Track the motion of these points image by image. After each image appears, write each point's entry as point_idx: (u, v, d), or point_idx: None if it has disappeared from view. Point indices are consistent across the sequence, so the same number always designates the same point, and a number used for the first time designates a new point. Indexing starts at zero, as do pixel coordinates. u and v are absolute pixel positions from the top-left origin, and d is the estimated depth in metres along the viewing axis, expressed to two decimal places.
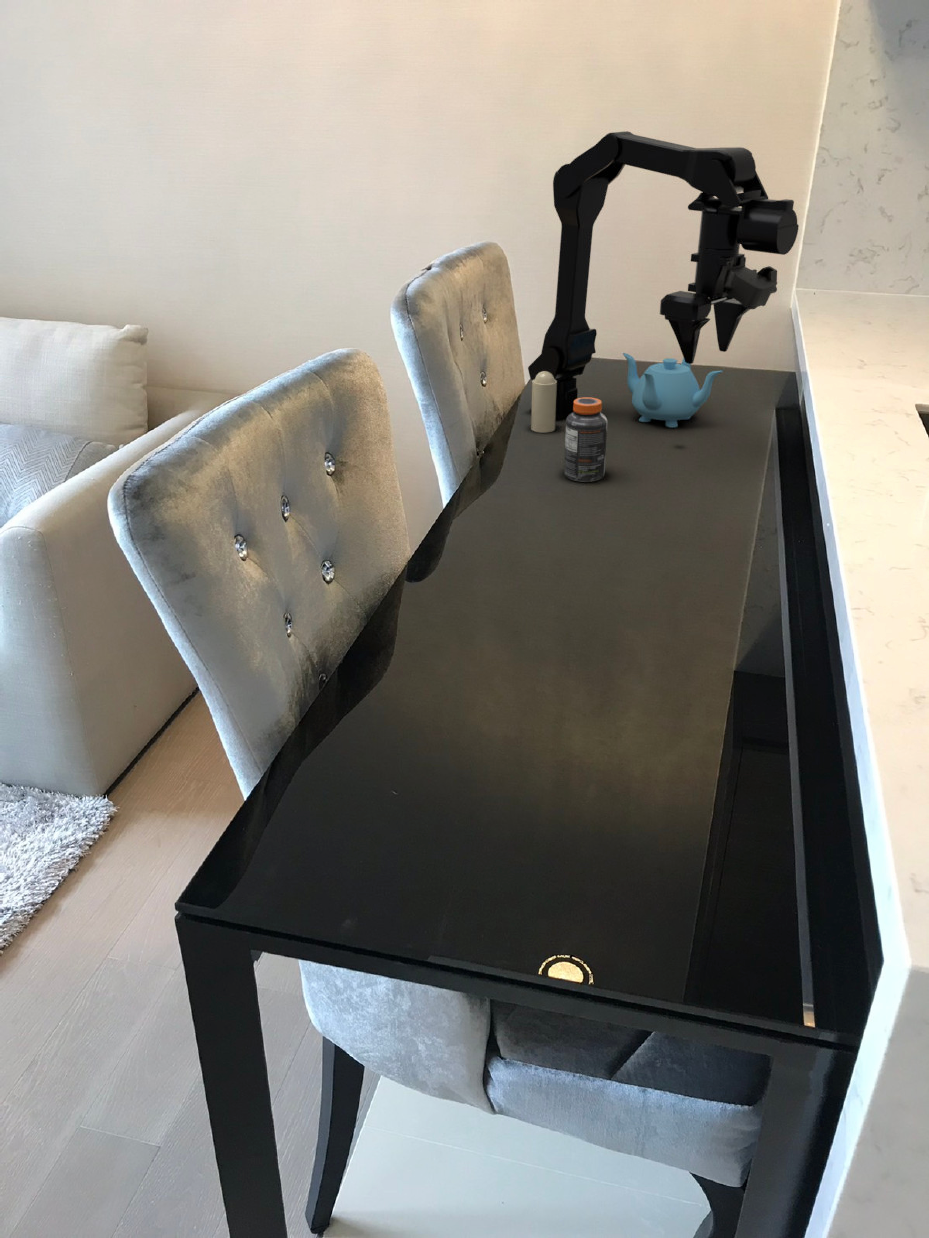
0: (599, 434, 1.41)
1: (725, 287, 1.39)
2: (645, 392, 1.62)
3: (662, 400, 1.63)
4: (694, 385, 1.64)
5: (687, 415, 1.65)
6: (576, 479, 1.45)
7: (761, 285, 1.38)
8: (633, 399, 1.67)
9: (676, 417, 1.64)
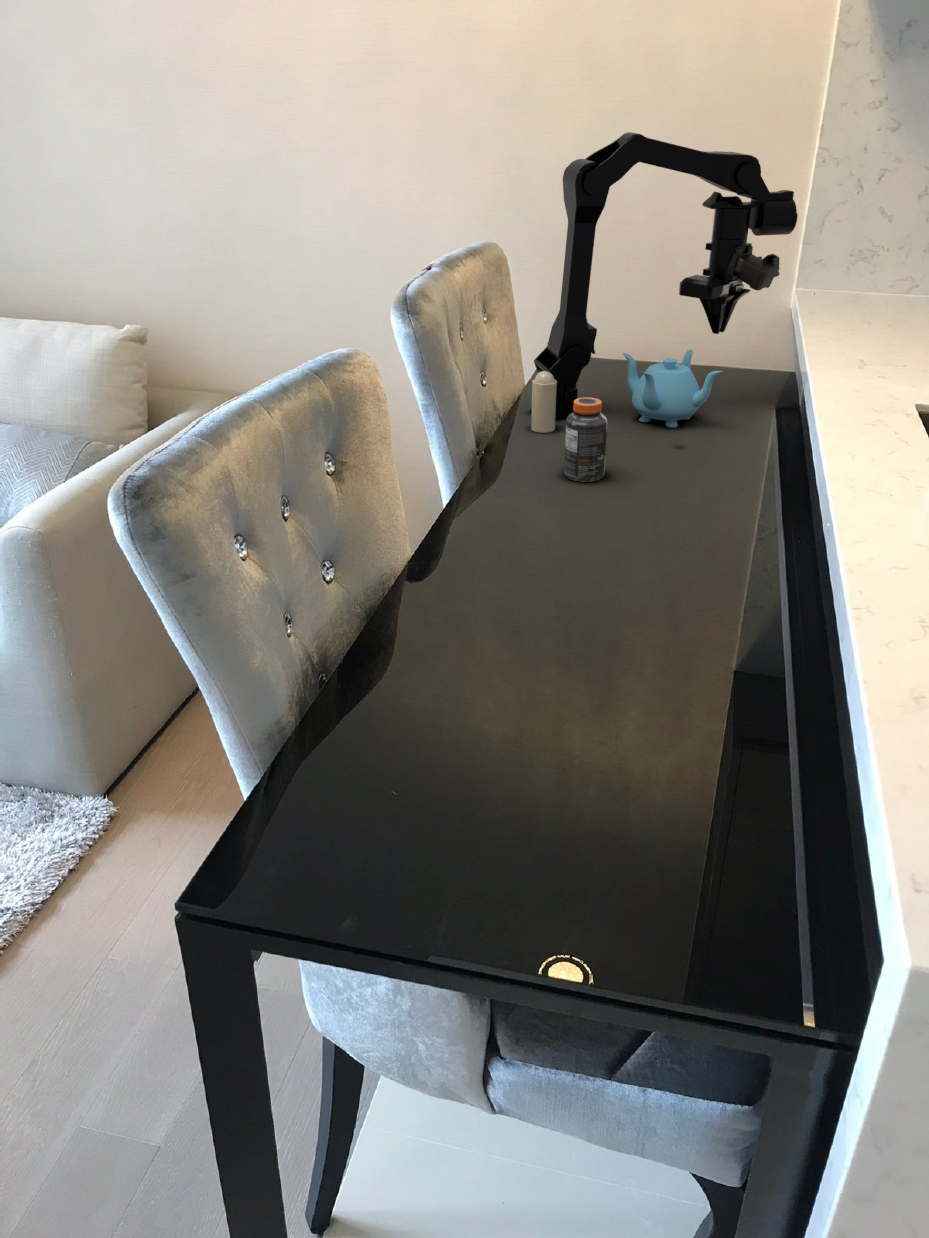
0: (599, 434, 1.41)
1: (735, 271, 1.63)
2: (645, 392, 1.62)
3: (662, 400, 1.63)
4: (694, 385, 1.64)
5: (687, 415, 1.65)
6: (576, 479, 1.45)
7: (766, 270, 1.61)
8: (633, 399, 1.67)
9: (676, 417, 1.64)
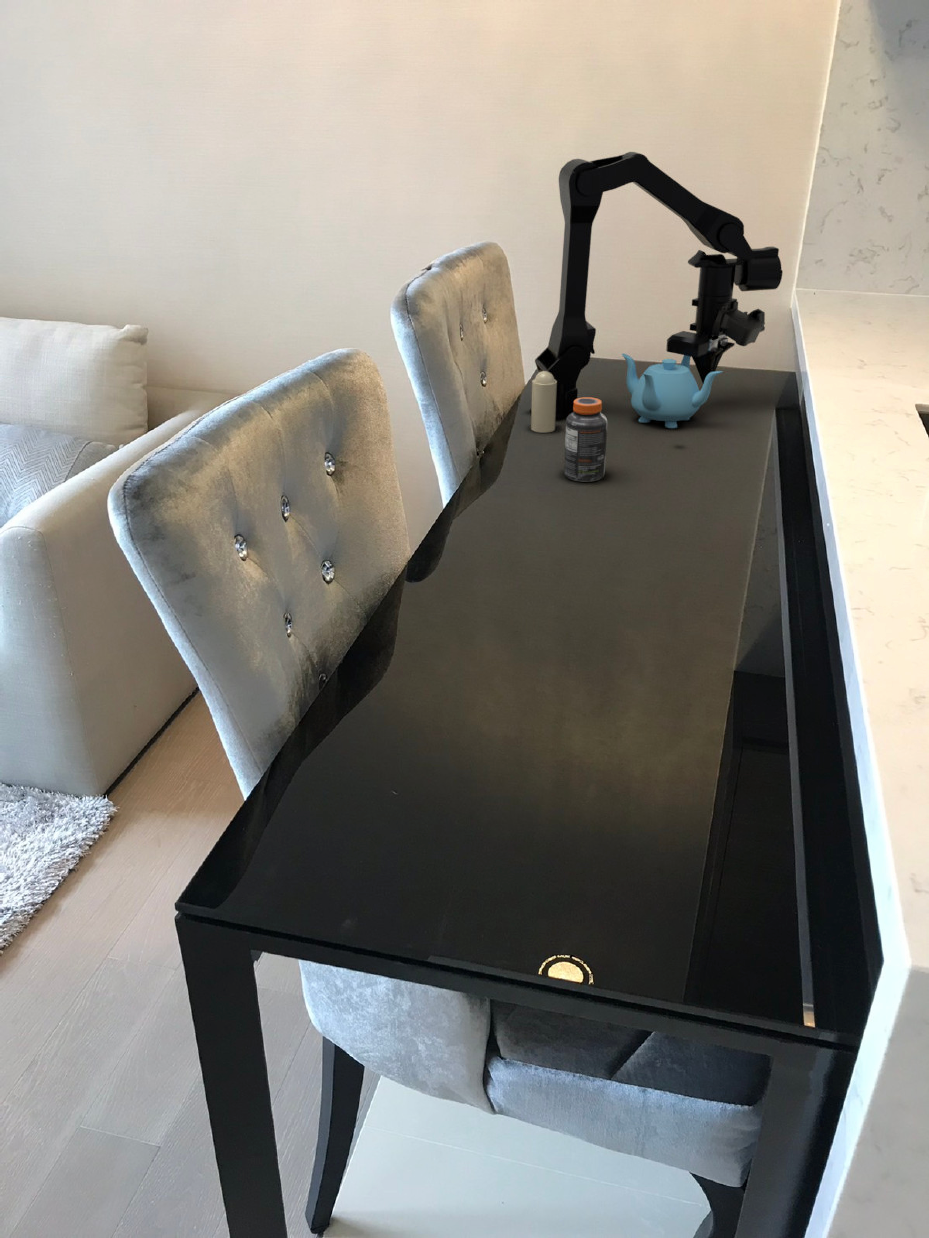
0: (599, 434, 1.41)
1: (721, 328, 1.66)
2: (644, 393, 1.61)
3: (661, 401, 1.62)
4: (693, 386, 1.63)
5: (686, 416, 1.64)
6: (576, 479, 1.45)
7: (751, 326, 1.64)
8: (632, 400, 1.67)
9: (675, 418, 1.64)
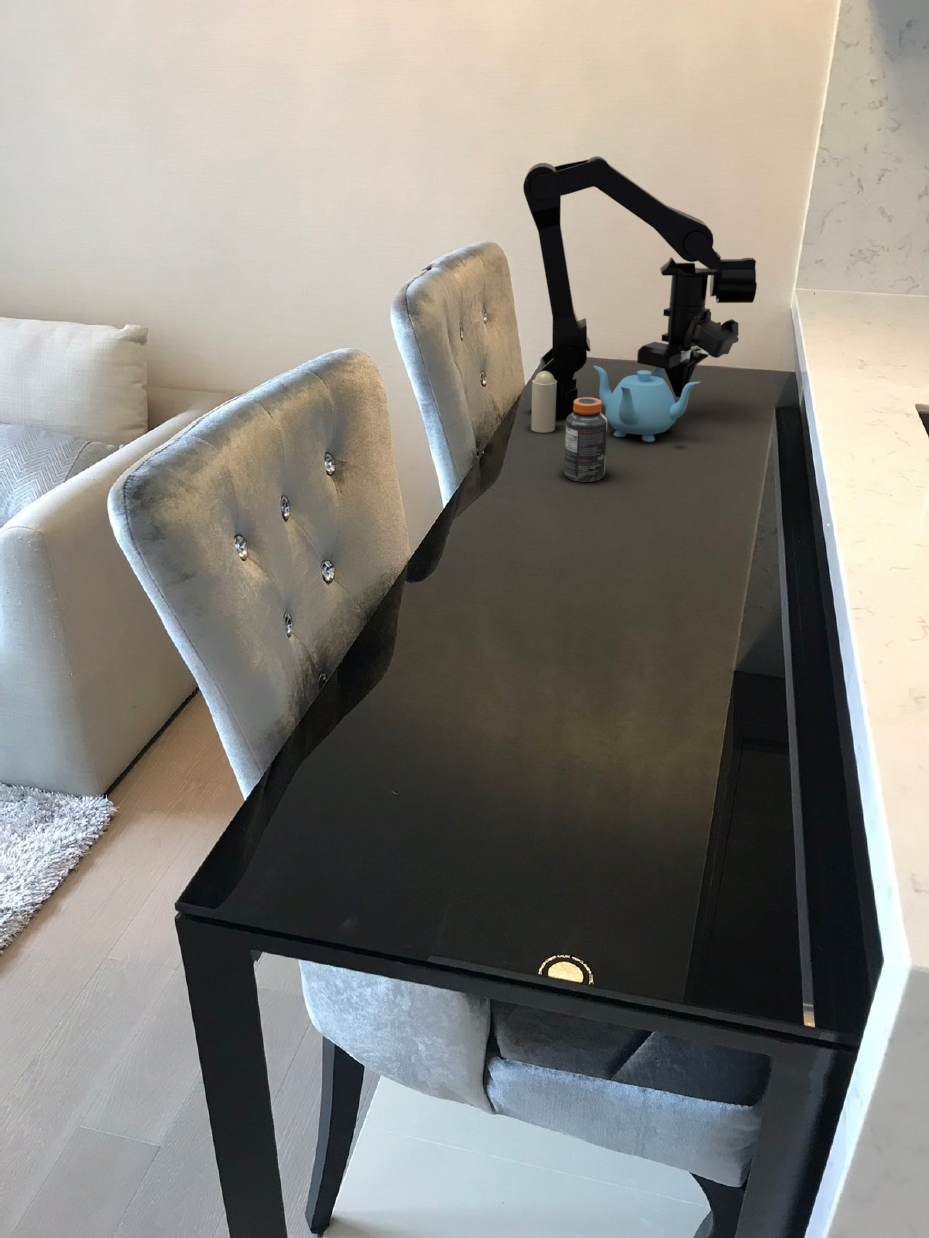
0: (599, 434, 1.41)
1: (693, 338, 1.61)
2: (622, 406, 1.55)
3: (639, 414, 1.56)
4: (670, 398, 1.58)
5: (664, 428, 1.59)
6: (576, 479, 1.45)
7: (724, 337, 1.59)
8: (607, 414, 1.61)
9: (654, 431, 1.58)
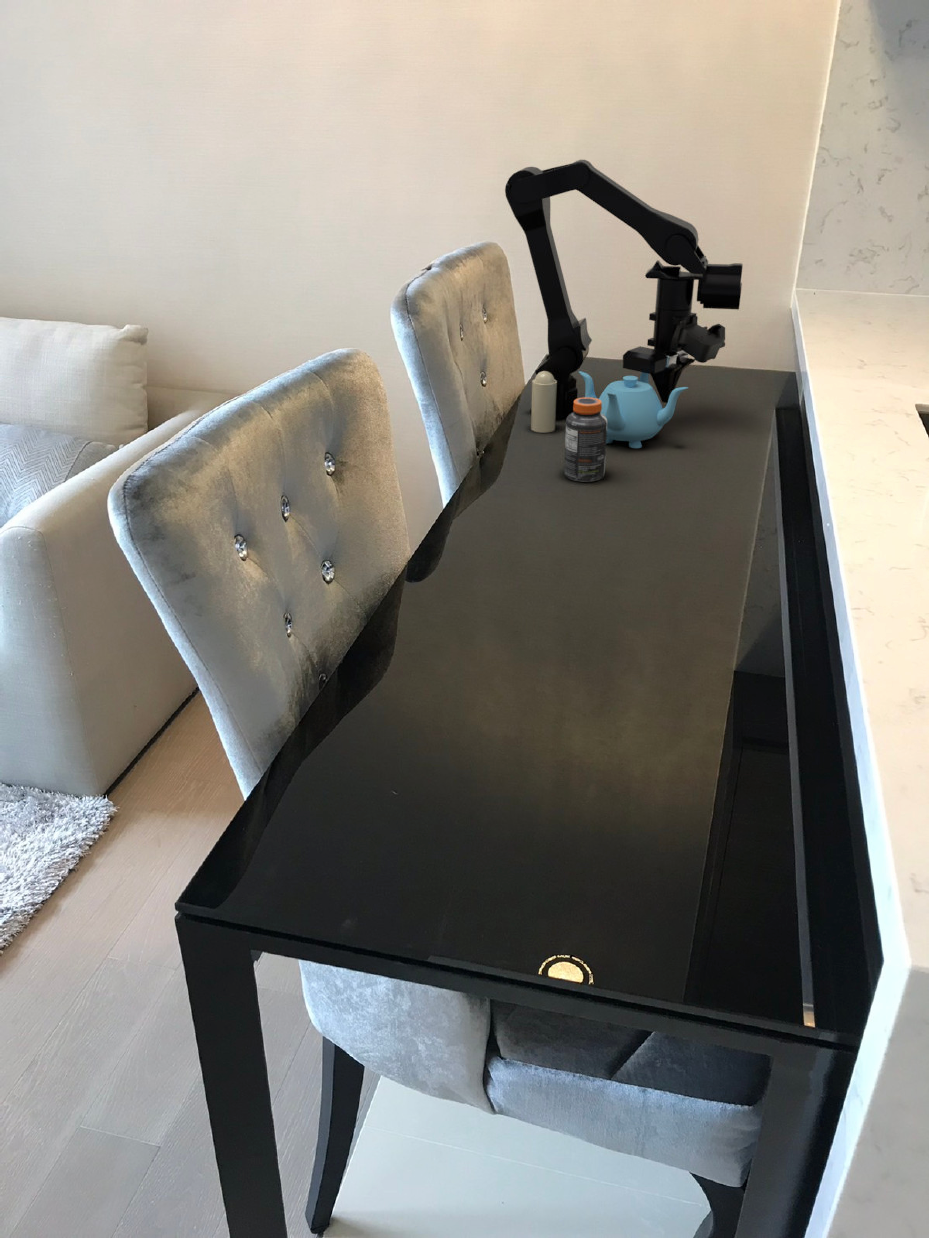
0: (599, 434, 1.41)
1: (679, 343, 1.58)
2: (609, 413, 1.52)
3: (626, 420, 1.54)
4: (657, 403, 1.55)
5: (652, 435, 1.56)
6: (576, 479, 1.45)
7: (710, 342, 1.56)
8: None
9: (641, 438, 1.56)
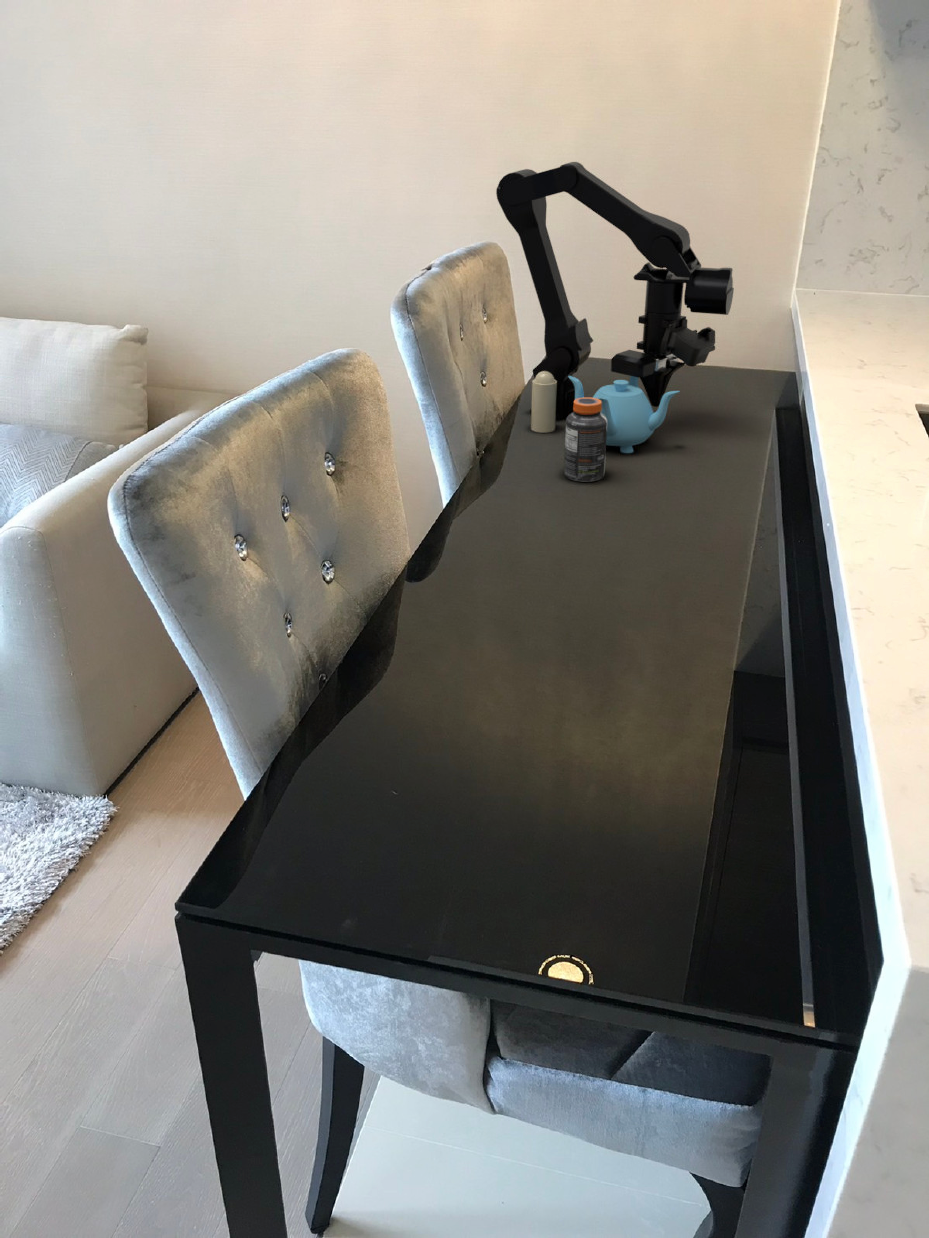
0: (599, 434, 1.41)
1: (668, 347, 1.56)
2: None
3: (618, 425, 1.52)
4: (648, 408, 1.54)
5: (643, 439, 1.54)
6: (576, 479, 1.45)
7: (700, 345, 1.54)
8: None
9: (632, 442, 1.54)
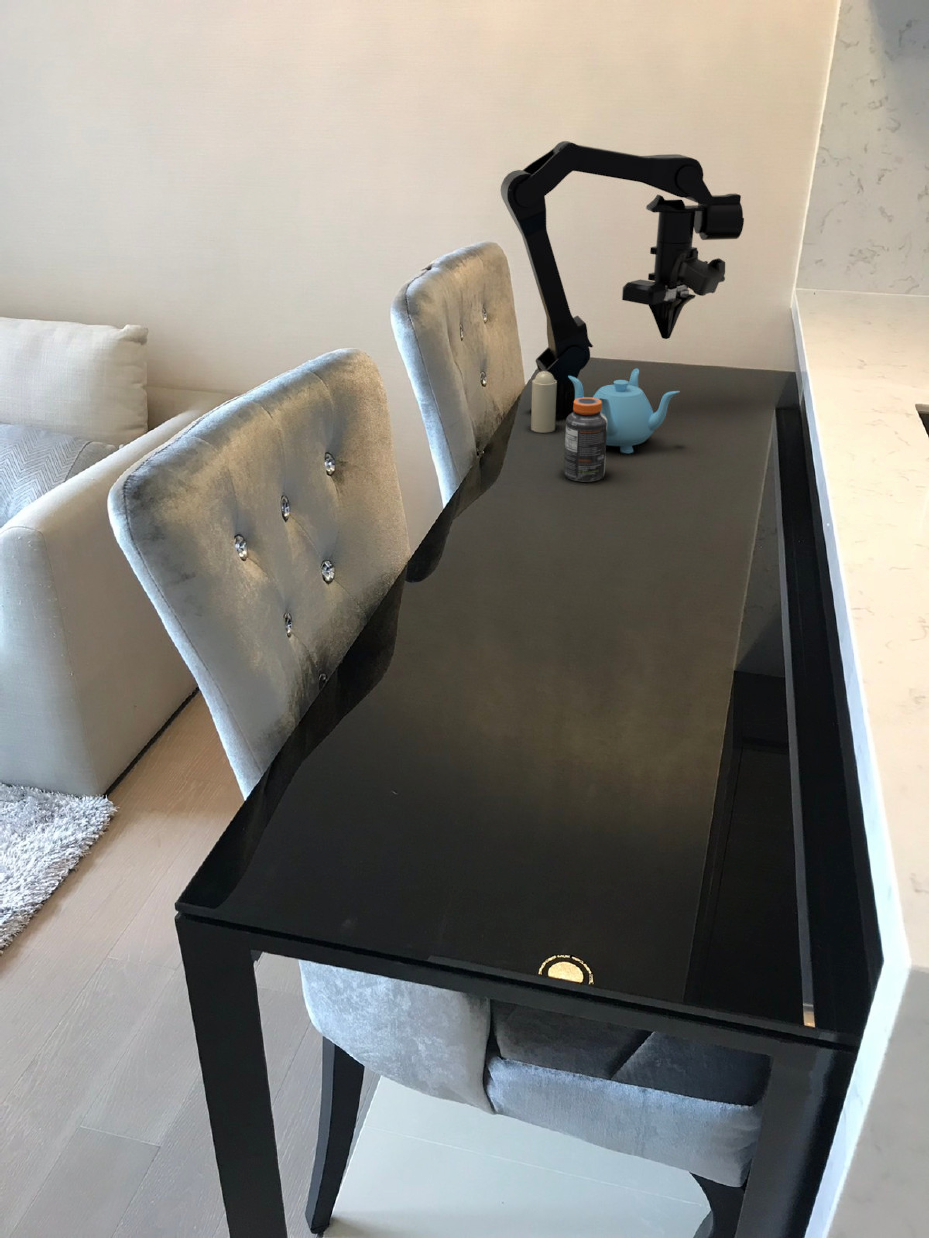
0: (599, 434, 1.41)
1: (679, 276, 1.60)
2: None
3: (618, 425, 1.52)
4: (648, 408, 1.54)
5: (643, 439, 1.54)
6: (576, 479, 1.45)
7: (709, 274, 1.58)
8: None
9: (633, 442, 1.54)
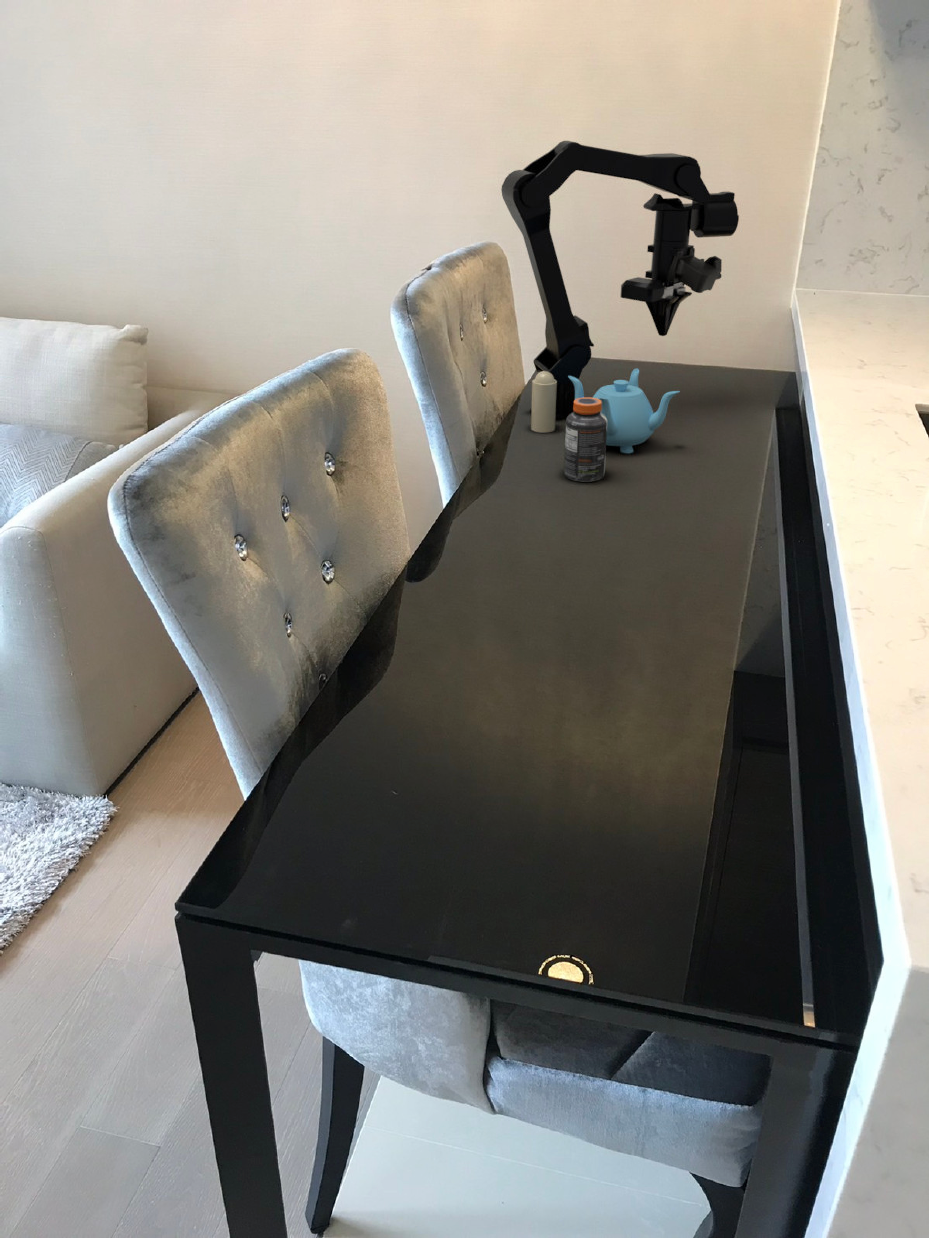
0: (599, 434, 1.41)
1: (676, 274, 1.62)
2: None
3: (618, 425, 1.52)
4: (648, 408, 1.54)
5: (643, 439, 1.54)
6: (576, 479, 1.45)
7: (707, 272, 1.60)
8: None
9: (633, 442, 1.54)
